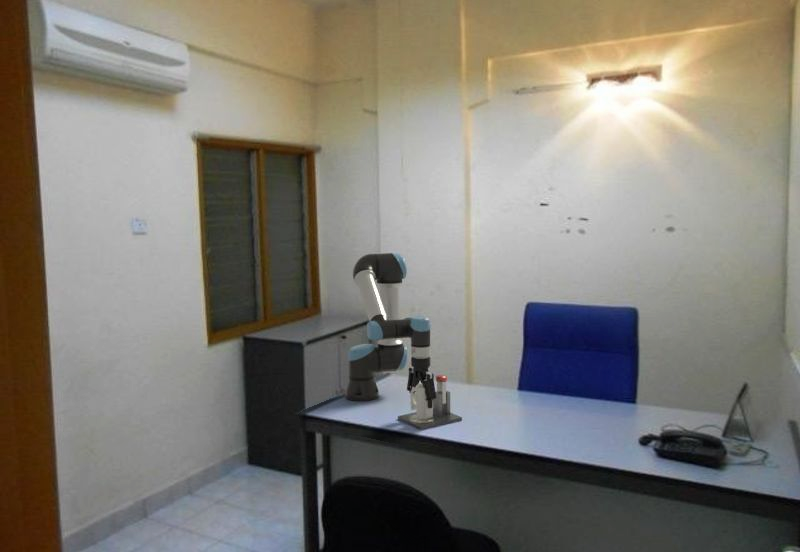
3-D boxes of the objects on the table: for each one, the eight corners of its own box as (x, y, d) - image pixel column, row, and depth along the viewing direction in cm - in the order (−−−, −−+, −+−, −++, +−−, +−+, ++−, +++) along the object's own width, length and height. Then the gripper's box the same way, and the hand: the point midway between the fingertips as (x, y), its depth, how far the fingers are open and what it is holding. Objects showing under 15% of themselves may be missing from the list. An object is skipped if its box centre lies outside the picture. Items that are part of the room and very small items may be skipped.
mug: (436, 415, 238) (436, 385, 237) (427, 419, 232) (427, 389, 231) (415, 410, 244) (415, 381, 243) (406, 415, 238) (405, 385, 237)
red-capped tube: (434, 402, 244) (433, 376, 243) (442, 400, 246) (442, 374, 245) (440, 404, 240) (440, 378, 239) (449, 402, 242) (449, 376, 241)
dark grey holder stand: (397, 419, 242) (397, 394, 241) (437, 410, 252) (437, 386, 252) (420, 430, 228) (420, 404, 227) (461, 420, 239) (461, 395, 238)
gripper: (397, 352, 243) (398, 407, 245) (429, 363, 225) (430, 421, 227) (412, 350, 247) (413, 404, 249) (445, 360, 229) (445, 418, 231)
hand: (421, 412), depth 238 cm, fingers closed on mug, 9 cm apart
